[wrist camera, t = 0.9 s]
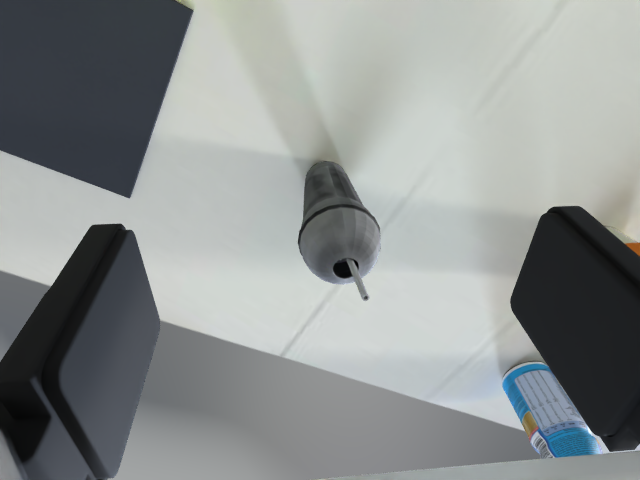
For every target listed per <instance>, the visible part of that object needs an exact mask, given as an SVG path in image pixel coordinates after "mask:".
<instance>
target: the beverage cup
mask: <svg viewBox="0 0 640 480" xmlns="http://www.w3.org/2000/svg"><path fill="white" fill-rule="evenodd" d="M298 245H299V249H300V253H301V255H302V256H303V259H304V261H305V263H306V264H307V266H308V267H309V269H310V270H311V271H312V273H314V274H315V275H316V276H318V277H319V278H321V279H322V280H324V281H327V282H330V283H333V284H348V283H353V282H356V285H357V287H358V290H359V292H360V294H361V297H362V299H363V300H364V301H367V300H368V299H369V295H368V293H367V291H366V288H365V286H364V284H363V281H362V279H361V278H363V277H364V276H365V275H366V274H368V273H369V272H370V271H371V269H372V268H373V266H374V265H375V263H376V262H377V259H378V255H379V252H380V247H381V244H380V227H379V225H378V223H377V221H376V219H375V217H373V216H372V215H371V214H370V212H369V211H368V210H367V209H366V208H365V207H364V206H363V204H362V202H361V200H360V199H359V197H358V195H357V193H356V191H355V189H354V187H353V185H352V184H351V182H350V180H349V178H348V176H347V174H346V173H345V172H344V170H343V168H341V167H340V166H339V165H338V164H336V163H333V162H327V161H325V162H320V163H318V164H316V165H314V166H313V167H312V168H311V169H310V170H309V171H308V173H307V175H306V181H305V188H304V211H303V222H302V226H301V230H300V231H299V238H298Z"/></svg>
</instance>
